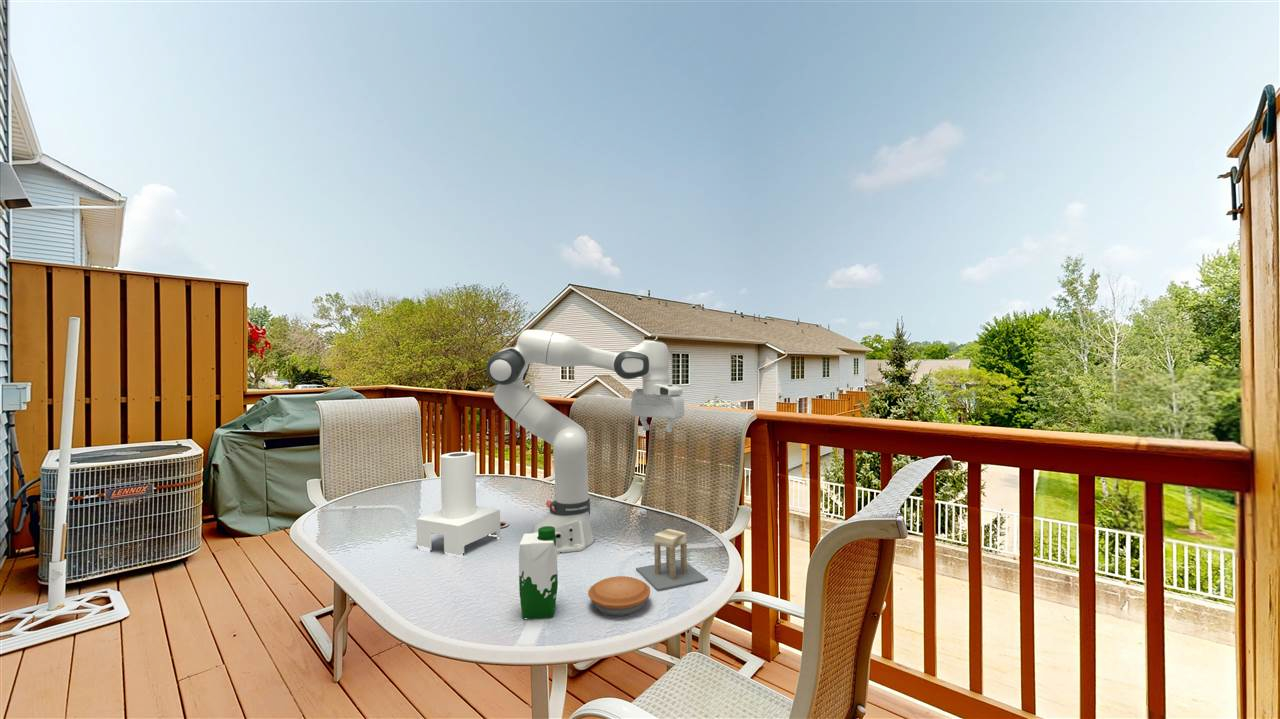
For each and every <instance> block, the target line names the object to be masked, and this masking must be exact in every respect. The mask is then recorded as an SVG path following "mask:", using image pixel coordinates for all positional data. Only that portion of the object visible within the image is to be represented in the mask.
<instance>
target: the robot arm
mask: <svg viewBox="0 0 1280 719" xmlns="http://www.w3.org/2000/svg"><path fill="white" fill-rule="evenodd" d="M515 344H516V345H515V346H508V347H505V348H502V349H500V350H498V351H497V352H495V353H494V354H493V355H492V356H491V357H490V358H489V359H488V361H487V363H486V373H487V377H488V378H489V379H490V380H491V382H493V383H495V384H497V386H496V387H495V389H494V392H493V400H494V402H495V404H496V405H497V406H498V408H499V409H501V411H503V412H504V413H505V414H506V416H508V417H510V418H511V419H512V420H513V421H515V422H516V423H517V424H518V425H519V426H521V427H523V428H524V429H525V430H526V431H528V432H529V433H530V434H532V435H533V436H535V437H538V438H539V439H541V440H542V441H544V442H546V443H548V444H549V445H551V446H552V454H553V470H554V492H555V495H554V497H555V498H554V500H553V501H551V500H550V499H549V500H546V502H545V505H546V507H547V508H549V512H548V513H547V514H546V515H545V516H543V518H542V519H540V520H539V521H538V522H536V523H535V525H534V528H533V530H532V533H536V532H538V529H539V528H541V527H545V526H552V527H554V528H555V533H556V546H557V554H560V552H562V553H571V551H572V552H582V551H583V550H585V549H586V548H587V547H589V546H590V545H592V544H593V543H594V541H595V537H594V533H593V530H592V526H591V519H590V518H591V517H590V516H591V501H590V499H591V498H589V471H588V469H589V467H588V466H589V465H588V462H589V461H588V434H587V432H586V430H585V428H584V427H583V426H581V425H580V424H579V423H577V422H576V421H574V420H573V419H571V418H570V417H568V416H567V415H566V414H564V413H563V412H561V411H559V410H558V409H556V408H555V407H553V406H552V405H550V403H548V402H546V401H545V400H544V399H543V398H541V397H540V396H539V395H537V394H536V393H535V392H533V391H532V390H530V389H529V388H528V387H527V386H526V384H525V383H524V381H525V379H526V377H527V374H528V371H529V370H530V369H529V368H530V365H531V364H541V365H546V366H552V367H560V368H561V367H562V368H572V367H579V366H590V367H595V368H600V369H604V370H605V369H606V370H610V371H612V372H615V373H616V375H617V376H619V377H620V378H621V379H623V380H630V381H631V380H634V379H637V378H642V388H638V387H637V388H635V389H634V390H633V391H632V393H631V394H632V397H631V404H630V413H631V416H632V417H639V421H640V423H641V425H642V430H643V431H649V430H650V424H648V422H647V420H648V418H655V419H656V418H657V419H666V422H667V426H664V432H665V433H668V434H669V433H672V432H673V425H674V424H675V423H676V422H675V421H676V420H679V419H683V418H684V416H685V401H684V397H683V396H682V394H683V393H684V391H683V388H682V387H680V386H677V385H675V384H673V383H671V382H670V376H669V369H670V355H669V349H668V346H667V344H666V343H665V342H664V341H661V340H657V339H648V338H647V339H644V340H643V341H642V342H640V343H639V344H638V345H635V346H633V347H631V348H629V349H626V350H623V351H618V352H617V351H611V350H607V349H605V350H604V349H600V348H596V347H592V346H590V345H587V344H585V343H584V342H581V341H580V340H578V339H576V338H574V337H571V336H568V335H566V334H563V333H561V332H557V331H550V330H545V329H525V330H523V331H522V332H521V333H520V334H519V335H518V338H517V340H516V343H515Z"/></svg>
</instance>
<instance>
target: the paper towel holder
mask: <svg viewBox="0 0 1280 719" xmlns="http://www.w3.org/2000/svg"><path fill="white" fill-rule="evenodd" d="M476 478H477V477H476V453H475V452H473V451H457V452H456V451H455V452H448V453H444V454H443V453H442V454H441V455H440V485H441V486H440V489H441V490H440V492H441V493H440V494H441V496H440V497H441V509H440V510H438V511H435V512H433V513H430V514H426V515H424V516H421V517H418V518H416V546H417V545H419V546H424V547H428V548H431V549H432V535H441V536H443V550H444V551H443V552H447V553H451V554H456V555H461V554H463V553H464V554H465V547H466V546H467V545H469V544H471V543H474V542H476V541H478V540H480V539H482V538H485V537H488V536H487V535H489V534H491V535H497V538H498V537H500V536H501V534H502V533H501V509H499V508H491V507H485V506H479V505H478V506H477V486H476V485H477V484H476V483H477V482H476V481H477V480H476ZM501 537H502V536H501ZM497 538H496V539H497Z"/></svg>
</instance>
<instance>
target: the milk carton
mask: <svg viewBox="0 0 1280 719" xmlns="http://www.w3.org/2000/svg"><path fill="white" fill-rule="evenodd" d="M518 577H519V578H518V580H519V581H518V583H519V586H518V587H519V589H518V590H519V591H518V592H519V602H520V608H521V614H522V619H523V618H537V619H547V618H548V619H549V618H551V619H552V617H553V618H554V615H555V608H556V603H557V594H558V589H559V588H558V587H559V586H558V585H559V584H558V583H559V582H558V577H559V576H558V553H557V546H556V533H555V528H554V527H552V526H545V527H541V528H539V529H538V532H536V533H533V532H532V533H523V535H522V538H521V540H520V543H519V550H518ZM546 617H547V618H546Z"/></svg>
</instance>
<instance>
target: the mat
mask: <svg viewBox="0 0 1280 719" xmlns="http://www.w3.org/2000/svg"><path fill="white" fill-rule="evenodd" d="M675 567H676V579H674V580H671V579H670V575H669V569H668V568H666V561H665V562H661V574H659V575H657V574H655V564H650V565H645V566H640V567H639V566H638V567H636V568H635V570H636V572H637V573H638V574H639V575H640V576H641V577H642V578H644V579H645V581H646V582H647V583H649V585H651V586H652V587H653V588H654V590H656V592H660V591H661V592H662V591H667V590H672V589H675V588H679V587H686V586H689V585H696V584H699V583H705V582H708V580H709V578H708V577H706V576H705V575H704V574H703V573H701V572H700V571H699V570H697V569H696V568H695V567H693V566H692V565H691V564H689V563H688V562H687V573H685V574H684V573H681V559H675Z"/></svg>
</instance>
